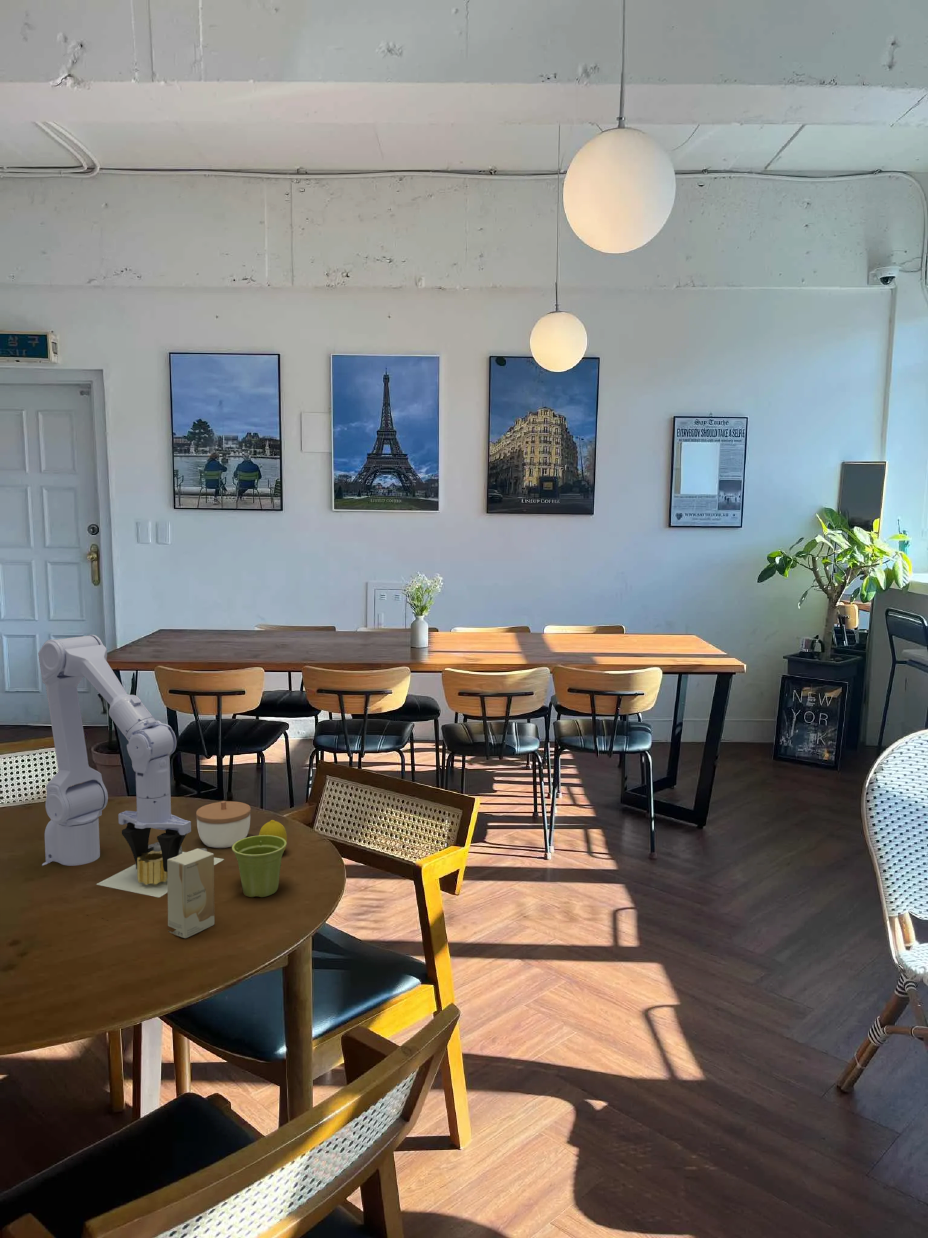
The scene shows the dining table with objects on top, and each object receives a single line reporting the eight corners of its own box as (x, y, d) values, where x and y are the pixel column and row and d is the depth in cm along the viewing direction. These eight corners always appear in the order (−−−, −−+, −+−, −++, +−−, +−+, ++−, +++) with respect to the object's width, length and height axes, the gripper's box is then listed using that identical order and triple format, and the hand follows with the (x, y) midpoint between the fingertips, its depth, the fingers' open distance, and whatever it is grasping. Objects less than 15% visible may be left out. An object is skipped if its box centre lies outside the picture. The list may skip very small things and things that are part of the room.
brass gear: (130, 880, 148) (130, 858, 148) (154, 869, 153) (154, 848, 153) (153, 887, 146) (153, 865, 145) (176, 876, 151) (176, 854, 150)
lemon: (280, 866, 160) (279, 826, 159) (253, 863, 161) (253, 823, 161) (291, 855, 166) (291, 816, 165) (266, 853, 167) (265, 814, 166)
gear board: (96, 890, 149) (95, 865, 148) (165, 854, 165) (165, 831, 165) (159, 904, 144) (158, 877, 143) (224, 865, 160) (223, 841, 160)
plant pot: (252, 908, 143) (251, 859, 142) (222, 891, 149) (221, 844, 148) (297, 891, 150) (297, 844, 149) (267, 875, 156) (266, 831, 155)
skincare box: (185, 940, 131) (183, 865, 130) (167, 933, 134) (164, 859, 132) (217, 924, 137) (215, 852, 135) (199, 917, 139) (197, 846, 138)
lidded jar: (259, 849, 169) (258, 804, 168) (206, 860, 163) (205, 814, 162) (241, 833, 177) (240, 790, 176) (190, 843, 171) (189, 799, 170)
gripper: (104, 795, 147) (107, 869, 149) (171, 805, 142) (173, 882, 143) (133, 784, 154) (135, 854, 155) (198, 793, 149) (199, 866, 150)
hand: (155, 867), depth 150 cm, fingers closed on brass gear, 6 cm apart
